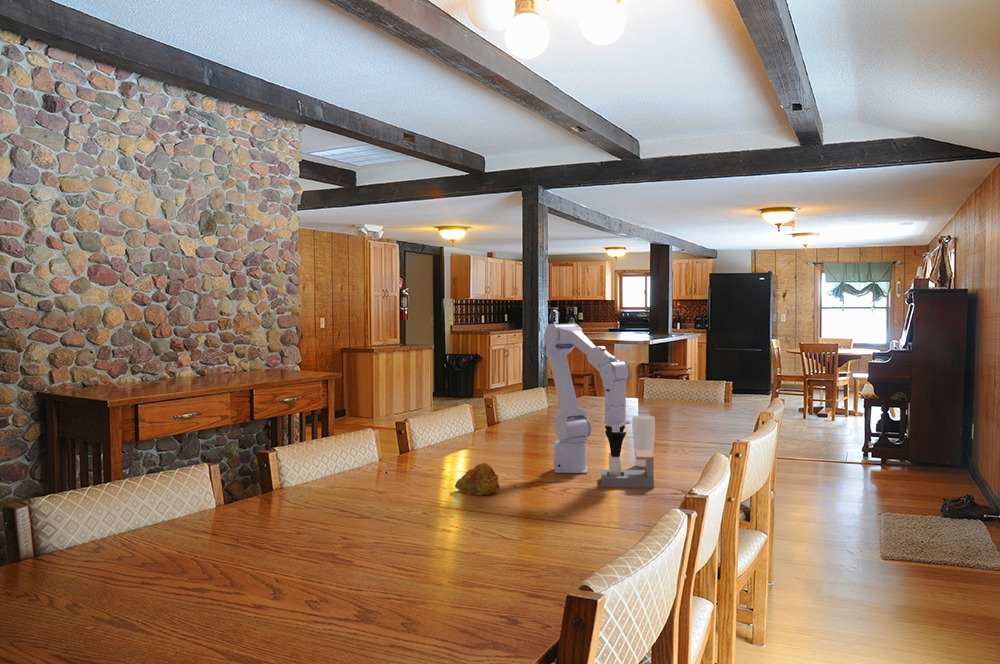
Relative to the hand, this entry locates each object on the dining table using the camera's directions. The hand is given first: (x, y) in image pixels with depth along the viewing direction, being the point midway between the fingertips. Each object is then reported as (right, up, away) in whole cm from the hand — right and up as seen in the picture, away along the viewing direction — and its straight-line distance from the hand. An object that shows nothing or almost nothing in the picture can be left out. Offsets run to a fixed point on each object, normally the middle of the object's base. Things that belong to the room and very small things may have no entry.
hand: (615, 453), depth 200 cm
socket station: (+3, -8, 0) cm, 9 cm away
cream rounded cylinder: (+12, -7, +21) cm, 25 cm away
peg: (0, -8, 0) cm, 8 cm away
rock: (-37, -9, -7) cm, 39 cm away
